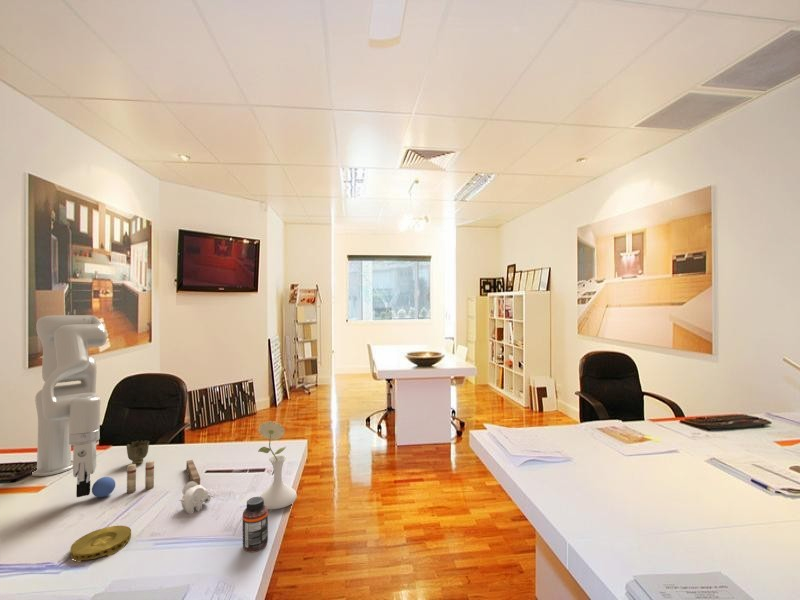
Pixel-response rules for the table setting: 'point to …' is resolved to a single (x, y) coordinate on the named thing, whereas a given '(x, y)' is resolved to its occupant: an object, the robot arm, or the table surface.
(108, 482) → the ball
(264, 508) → the supplement bottle
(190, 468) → the wooden plank
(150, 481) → the rear pin
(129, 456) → the cup
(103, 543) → the gold brake disc
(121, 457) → the table surface
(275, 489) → the flower in vase
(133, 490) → the front pin
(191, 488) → the elephant figurine
